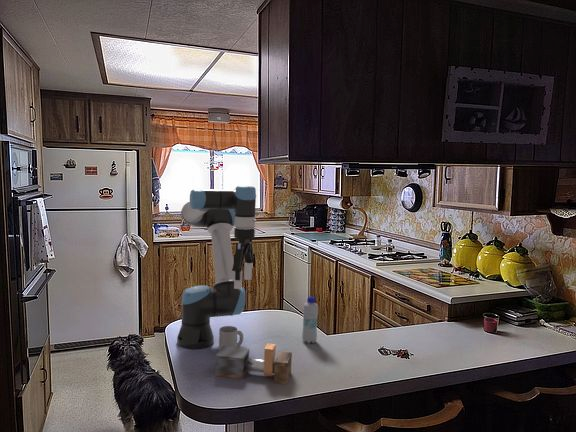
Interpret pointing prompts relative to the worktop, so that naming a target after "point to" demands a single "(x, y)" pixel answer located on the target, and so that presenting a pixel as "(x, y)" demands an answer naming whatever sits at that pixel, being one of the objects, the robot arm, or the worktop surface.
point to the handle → (262, 362)
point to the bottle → (310, 320)
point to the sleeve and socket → (233, 364)
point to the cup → (229, 337)
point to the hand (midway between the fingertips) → (243, 284)
